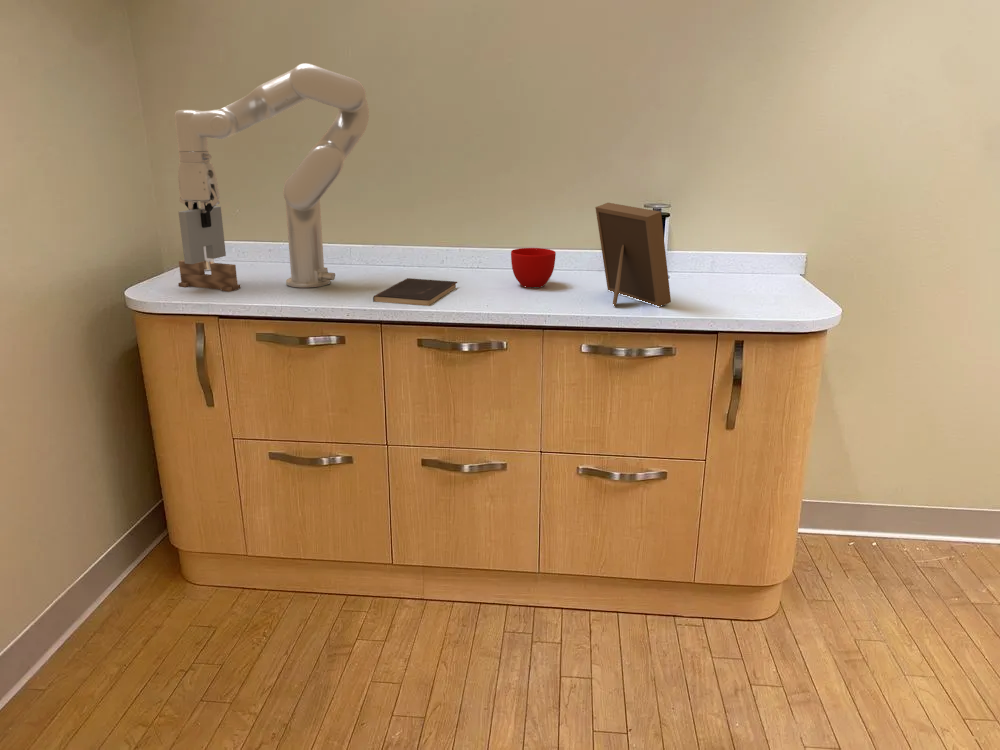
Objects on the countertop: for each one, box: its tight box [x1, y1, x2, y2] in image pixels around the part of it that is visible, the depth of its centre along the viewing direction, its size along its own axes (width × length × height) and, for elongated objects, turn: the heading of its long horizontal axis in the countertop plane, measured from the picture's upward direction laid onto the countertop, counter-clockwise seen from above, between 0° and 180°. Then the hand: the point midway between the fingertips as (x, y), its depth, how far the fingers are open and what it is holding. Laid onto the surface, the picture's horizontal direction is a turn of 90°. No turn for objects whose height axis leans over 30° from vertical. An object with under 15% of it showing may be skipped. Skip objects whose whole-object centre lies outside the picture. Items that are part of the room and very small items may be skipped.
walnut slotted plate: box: [178, 259, 242, 293], centre depth 216 cm, size 18×5×7 cm, turn 70°
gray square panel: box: [178, 205, 227, 264], centre depth 212 cm, size 2×14×14 cm, turn 160°
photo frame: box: [594, 202, 672, 307], centre depth 203 cm, size 15×22×25 cm
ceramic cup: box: [510, 247, 557, 288], centre depth 224 cm, size 13×17×10 cm
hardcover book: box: [372, 277, 458, 307], centre depth 212 cm, size 16×23×2 cm
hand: (202, 226), depth 212 cm, fingers closed on gray square panel, 2 cm apart
